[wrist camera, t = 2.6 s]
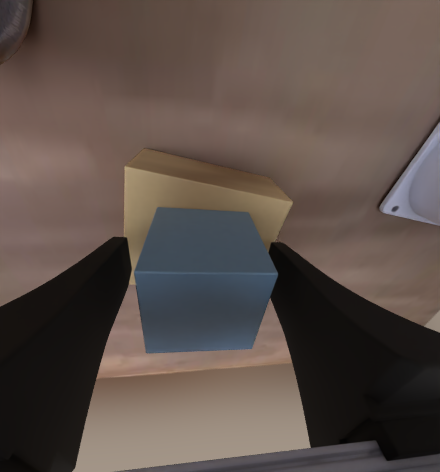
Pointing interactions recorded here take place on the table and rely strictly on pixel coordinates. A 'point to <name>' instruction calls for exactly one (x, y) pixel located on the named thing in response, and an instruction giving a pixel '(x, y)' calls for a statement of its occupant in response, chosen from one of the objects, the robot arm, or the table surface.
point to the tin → (13, 26)
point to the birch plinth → (196, 195)
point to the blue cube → (202, 281)
